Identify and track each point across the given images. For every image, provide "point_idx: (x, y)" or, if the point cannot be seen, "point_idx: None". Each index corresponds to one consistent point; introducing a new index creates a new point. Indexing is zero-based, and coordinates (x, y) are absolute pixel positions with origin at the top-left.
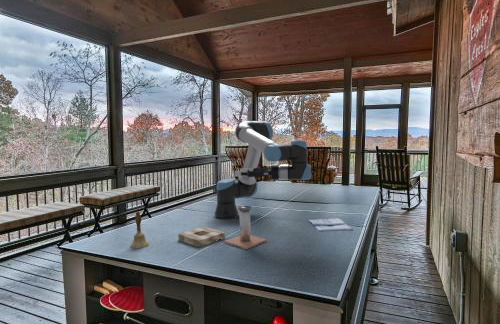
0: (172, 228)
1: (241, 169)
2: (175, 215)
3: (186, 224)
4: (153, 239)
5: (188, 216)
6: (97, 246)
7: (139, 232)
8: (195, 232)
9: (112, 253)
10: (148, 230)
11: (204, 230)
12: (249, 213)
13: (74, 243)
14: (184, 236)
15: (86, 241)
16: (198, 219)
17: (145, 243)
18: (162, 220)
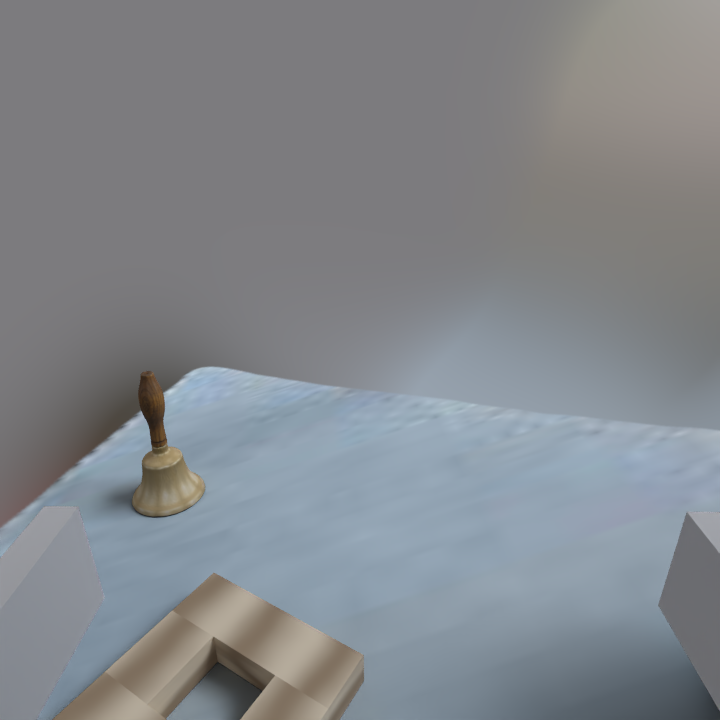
0: (404, 512)
1: (684, 542)
2: (613, 454)
3: (490, 541)
4: (239, 505)
5: (635, 502)
6: (184, 413)
7: (152, 451)
8: (232, 647)
9: (101, 462)
10: (359, 453)
11: (274, 688)
12: None
13: (222, 372)
14: (171, 613)
15: (237, 381)
16: (613, 563)
17: (153, 503)
18: (511, 443)
